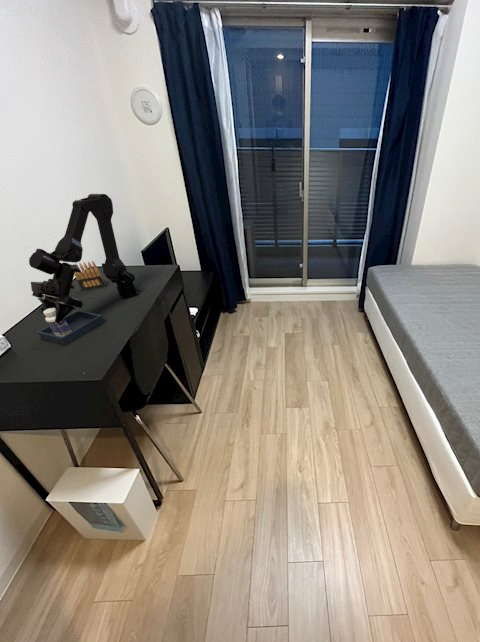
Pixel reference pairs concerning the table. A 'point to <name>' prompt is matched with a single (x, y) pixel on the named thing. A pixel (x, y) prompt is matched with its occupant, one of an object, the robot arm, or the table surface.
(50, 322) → the pill bottle
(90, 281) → the ammunition clip
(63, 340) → the tray
